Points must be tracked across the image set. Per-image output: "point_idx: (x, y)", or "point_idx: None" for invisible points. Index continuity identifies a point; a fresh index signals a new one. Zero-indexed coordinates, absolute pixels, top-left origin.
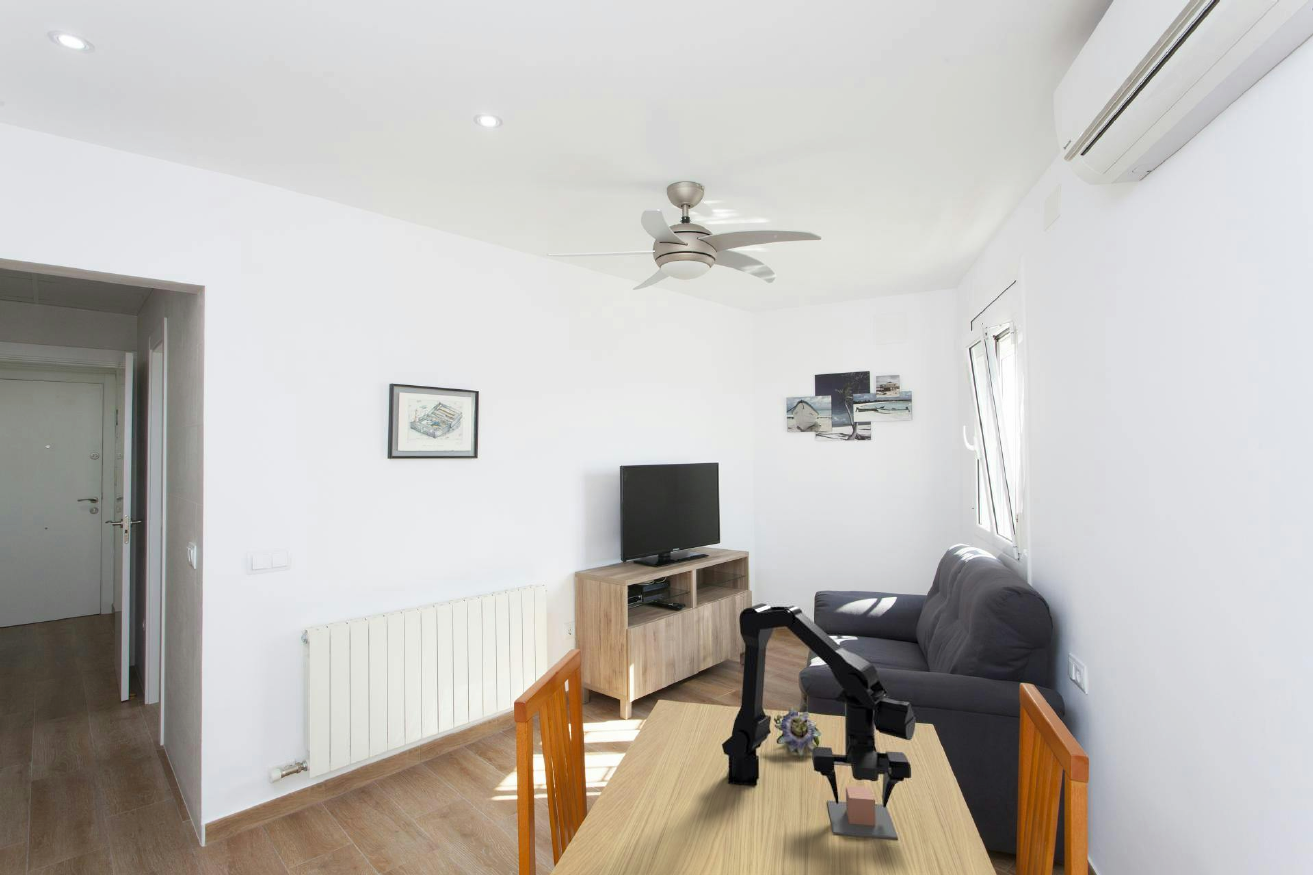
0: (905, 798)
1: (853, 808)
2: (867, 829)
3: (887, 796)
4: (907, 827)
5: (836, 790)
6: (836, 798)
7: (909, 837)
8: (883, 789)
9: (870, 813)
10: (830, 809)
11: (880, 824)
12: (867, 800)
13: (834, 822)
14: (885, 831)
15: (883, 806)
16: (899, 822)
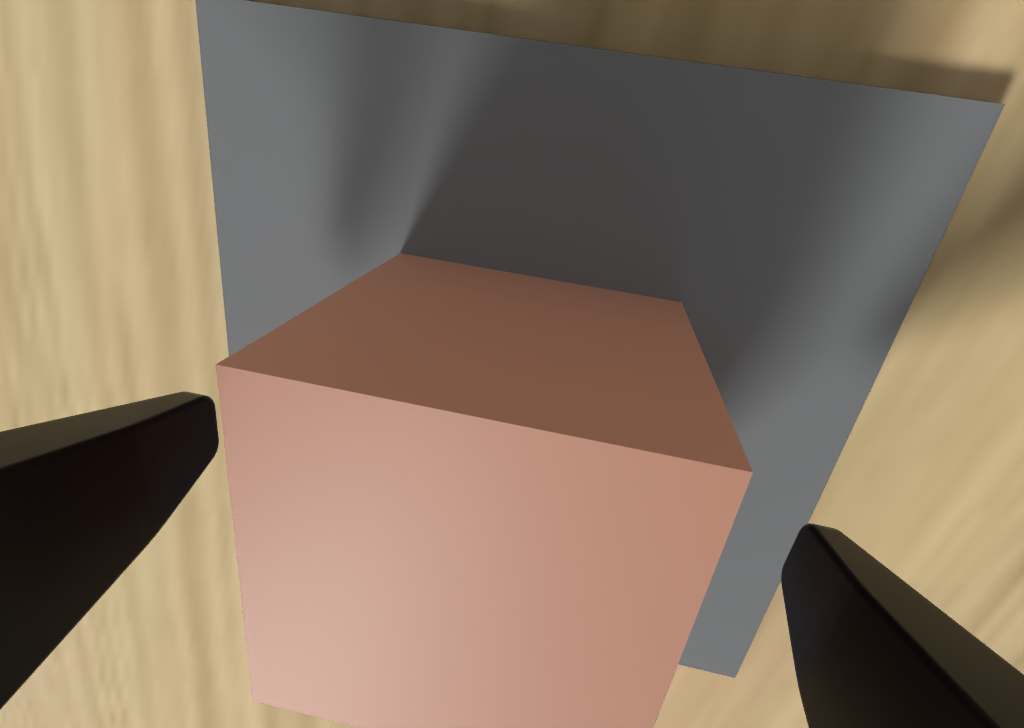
0: (115, 619)
1: (646, 361)
2: (512, 170)
3: (5, 446)
4: (111, 245)
5: (991, 705)
6: (882, 575)
7: (97, 49)
8: (25, 598)
9: (409, 297)
10: (773, 555)
11: (345, 273)
12: (378, 383)
13: (859, 329)
14: (317, 125)
15: (207, 402)
16: (174, 330)
